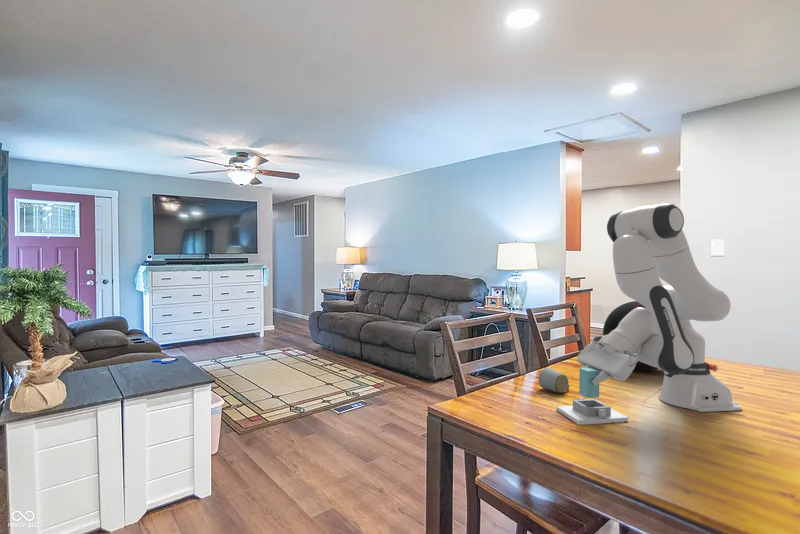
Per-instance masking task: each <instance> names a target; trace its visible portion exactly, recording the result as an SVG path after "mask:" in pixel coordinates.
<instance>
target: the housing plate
mask: <svg viewBox="0 0 800 534" xmlns="http://www.w3.org/2000/svg"><path fill="white" fill-rule="evenodd" d="M556 411H557V412H559V413H560V414H561V415H563V416H565V417H566V418H568V419H569V420H571V421H573V422H574V423H575V424H577V425H578V426H580V425H595V424H598V425H599V424H613V423H612V422H614V423H625V422H624V421H628V422H629V417H628V416H626V415H625V414H622V413H620V412H619V411H617V410H616V409H614V408H612V407H611V406H609V405H607V404H605V403H603V402H601V401H599V400H597V399H596V398H587V399H585V397H582V396H581V397H580V396H579V397H577V399H572V405H559V406H558V405H557V406H556Z"/></svg>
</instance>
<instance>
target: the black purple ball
mask: <svg viewBox="0 0 800 534" xmlns="http://www.w3.org/2000/svg"><path fill="white" fill-rule="evenodd" d="M637 307H642V308H646V307H645V306H643V305H642V304H640V303H639V302H637V301H636V300H633V301H629V302H625V303H623V304H620V305H619V306H617V307H616V308H614V309H612V311H611V312H610V313H609V314H608V315H607V317H606V319H605V322H604V324H603V328H602V329H603V330H602V336H604V335H608V334H609V333H610V332H611V331H613V330H614V329H616V328H617V327H618V325H619V323H620V321H621V320H622V319H623V318H624V317H625V316H626V315H627V314H628V313H629V312H631V311H632V310H633V309H635V308H637ZM634 370H638V371H643V372H644V371H645V372H646V371H647V372H648V371H649V372H650V371H655V370H659V368H656V367H653V366H650V365H648V364H645V363H642V362H640V361H638V362H637V363H636V366H635V368H634Z"/></svg>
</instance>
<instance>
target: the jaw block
mask: <svg viewBox="0 0 800 534" xmlns="http://www.w3.org/2000/svg"><path fill="white" fill-rule="evenodd" d="M599 374H600V371H599V370H596V369H594V368H584V367H579V378H578V379H579V382H578V383H579V384H578V387H579V389H578V390H579V391H578V394H579V395H581V396H582V397H583V398H587V399H596V398H600V383H599V384H598V385H597V386H596V385H594V384H592V383H591V382H590V380H591V379H592V378H593V377H596V376H598V375H599Z"/></svg>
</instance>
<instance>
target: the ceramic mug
mask: <svg viewBox="0 0 800 534" xmlns="http://www.w3.org/2000/svg"><path fill="white" fill-rule="evenodd" d="M537 379H538V384H539V385H538V386H539V387H541V388H542V389H545V390H548V391H550V392H554V393H557V394H562V393H565V391H566V390H569V389H570V387H571V386H570V384H569V378H568V377H567V375H566V374H564V373H562V372H560V371H558V370H555V369H552V368H550V367H545V368H542V369H541V371H540V372H539V375H538V378H537Z"/></svg>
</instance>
